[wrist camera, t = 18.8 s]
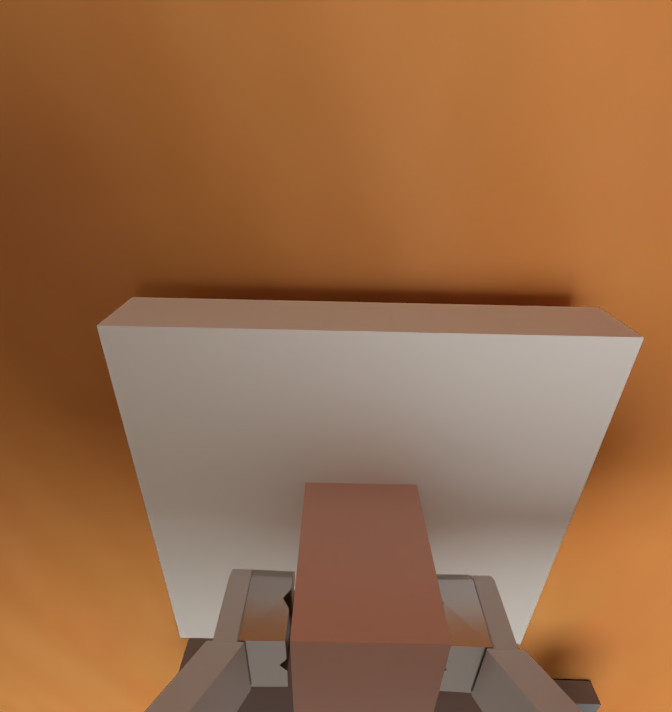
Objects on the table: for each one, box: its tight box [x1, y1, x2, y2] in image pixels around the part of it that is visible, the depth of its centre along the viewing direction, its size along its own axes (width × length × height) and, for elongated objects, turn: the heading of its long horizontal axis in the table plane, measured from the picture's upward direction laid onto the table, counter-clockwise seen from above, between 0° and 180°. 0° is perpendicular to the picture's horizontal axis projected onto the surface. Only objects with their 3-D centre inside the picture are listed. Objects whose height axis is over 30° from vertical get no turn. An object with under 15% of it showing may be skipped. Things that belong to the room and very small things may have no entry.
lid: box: [97, 297, 644, 712], centre depth 11 cm, size 12×12×6 cm
